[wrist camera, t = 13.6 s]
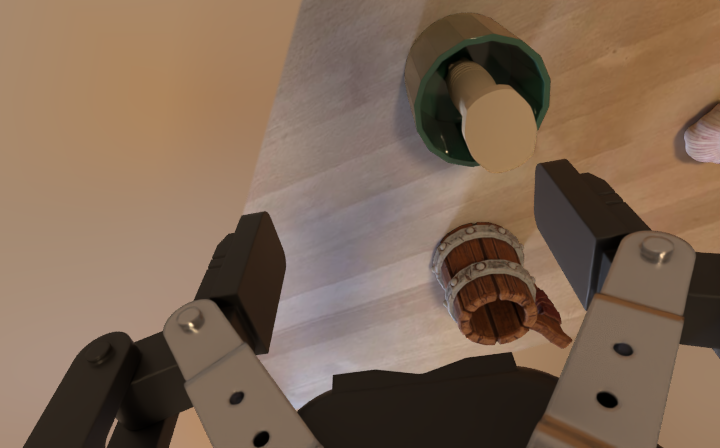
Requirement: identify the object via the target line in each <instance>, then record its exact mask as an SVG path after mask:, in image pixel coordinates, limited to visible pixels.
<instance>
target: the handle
mask: <svg viewBox="0 0 720 448" xmlns="http://www.w3.org/2000/svg"><path fill="white" fill-rule="evenodd" d="M445 82H446V85H447V89H448V92H449V95H450V98H451V100H452V102H453V104H454V106H455V107H456V108H457V110H458V111H459V113H460V114H461V115H462V117H463V118H462V133H463V136H464V139H465V142H466V144H467V147H468V149H469V151H470V153H471V155H472V157H473V158H474V159H475V160H476V162H477V163H479V164H480V165H481V166H482V167H483V168H485V169H486V170H487V171H489V172H492V173H501V172H506V171H509V170H512V169H515V168H517V167H519V166H520V165H522V164H523V163H525V162H526V161H527V160H528V159H529V158H530V157H531V156H532V155H533V151H534V147H535V143H536V139H537V125H536V122H535V118H534V114H533V111H532V109H531V107H530V105H529V104H528V103H527V102H526V101H525V99H524V98H522V97H521V96H520V95H519V94H518V93H517V92H516V91H515V90H514V89H513V88H512V87H511V86H509V85H503V84H498V85H496V83H495V81H494V80H493V78H492V77H491V75H490V74H489V73H488V72H487V71H486V70H485V69H484V68H483V67H481V66H480V65H479V64H477V63H475V62H473V61H469V60H468V59H467V58H466V57H461V58H460V59H459V60H458V61H456V62H451V63H450V64H449V65H448V74H447V77H446V78H445Z"/></svg>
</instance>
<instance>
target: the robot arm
mask: <svg viewBox="0 0 720 448" xmlns="http://www.w3.org/2000/svg"><path fill="white" fill-rule="evenodd" d="M534 215H535V221H536V224H537V227H538V229H539V231H540V233H541V235H542V236H543V238H544V240H545V241H546V243H547V245H548V247H549V248H550V250H551V252H552V254H553V255H554V257H555V259H556V260H557V262H558V264H559V266H560V267H561V269H562V271H563V272H564V274H565V276H566V278H567V279H568V281H569V283H570V285H571V286H572V288H573V290H574V291H575V293H576V295H577V297H578V298H579V300H580V302H581V304H582V305H583V307H584V309H585V310H586V311H587V313H586V315H585V318H584V320H583V322H582V325H581V327H580V330H579V332H578V334H577V337H576V340H575V342H574V344H573V346H572V349H571V351H570V354H569V356H568V358H567V361H566V363H565V366H564V368H563V370H562V373H561V375H560V378H558V377H556V376H553V375H551V374H549V373H546V372H543V371H540V370H536V369H532V368H527V367H520V366H516V363H515V361H514V357H513V355H512V352H508V353H500V354H492V355H485V356H477V357H469V358H464V359H462V360H459V361H456V362H454V363H451V364H448V365H446V366H443V367H440V368H438V369H435V370H432V371H429V372H427V373H423V374H413V373H403V372H394V371H384V370H368V371H361V372H353V373H345V374H337V375H333V384H332V390H329V391H327V392H325V393H323V394H321V395H319V396H317V397H315V398H314V399H312V400H311V401H309V402H308V403H307V404H305V405H304V406H303V407H302V408H300V409H299V410H298V411H297V412H296V410H295V409H294V407H293V406H292V405H291V403H290V402H289V400H288V399H287V398H286V396H285V395H284V394H283V392H282V391H281V389H280V388H279V387H278V385H277V384H276V382H275V381H274V380H273V378H272V377H271V376H270V374H269V373H268V371H267V370H266V369H265V367H264V366H263V365H262V363H261V362H260V360H259V359H258V358H257V356H256V355H260V354H268V352H269V347H270V342H271V337H272V333H273V328H274V323H275V318H276V313H277V308H278V304H279V299H280V294H281V289H282V284H283V280H284V275H285V270H286V259H285V254H284V250H283V247H282V245H281V242H280V240H279V237H278V235H277V232H276V230H275V227H274V225H273V222H272V220H271V217H270V215H269V214H268V213H267V212H266V211H264V212H259V213H253V214H248V215H243V216H241V218H240V220H239V223H238V225H237V228H236V231H235V233H231V234H228V235H227V236H226V237H225V238H224V239H223V241H221V242H220V243H219V244H218V245H217V248H216V250H215V252H214V255H213V257H212V258H213V260H211V262H210V264H209V266H208V270H207V271H206V274H205V276H204V278H203V280H202V283H201V285H200V287H199V289H198V292H197V294H196V296H195V299H194V301H192V302H190V303H187V304H185V305H184V306H182V307H180V308H179V309H178V310H176V311H175V312H174V313H173V314H172V315H171V316H170V317H169V318H168V320H167V321H166V323H165V325H164V329H163V331H162V332H159V333H157V334H154V335H152V336H150V337H147V338H144V339H142V340H139V341H137V342H133V341H132V339H131V338H130V337H129V336H128V335H127V334H126V333H124V332H112V333H108V334H105V335H103V336H101V337H99V338H97V339H95V340H93V341H92V342H91V343H89V344H88V345H87V346H86V347H84V348H83V349H82V350H81V351H80V353H79V354H78V355H77V356H76V358H75V359H74V361H73V362H72V364H71V366H70V368H69V369H68V371H67V373H66V374H65V376H64V378H63V380H62V382H61V383H60V385H59V386H58V388H57V390H56V392H55V393H54V395H53V397H52V398H51V400H50V402H49V404H48V405H47V407H46V409H45V410H44V412H43V414H42V416H41V417H40V419H39V421H38V422H37V424H36V426H35V427H34V429H33V431H32V433H31V435H30V436H29V438H28V440H27V441H26V443H25V445H24V446H23V448H105V443H106V438H107V435H108V433H109V430H110V428H111V426H112V424H113V422H114V419H115V418H116V419H117V420H118V422H117V425H116V427H115V429H114V432H113V434H112V437H111V439H110V441H109V444H108V446H107V448H169V445H170V442H171V438H172V435H173V432H174V428H175V425H176V422H177V418H178V415H179V413H180V412H182V411H185V410H187V409H189V408H192V407H194V408H195V410H196V413H197V415H198V417H199V419H200V421H201V423H202V425H203V427H204V429H205V431H206V434H207V436H208V438H209V440H210V442H211V444H212V446H213V448H663V447H661V446H660V445H659V444H657V442H658V438H659V433H660V429H661V424H662V419H663V415H664V410H665V406H666V401H667V396H668V392H669V388H670V383H671V379H672V374H673V369H674V365H675V360H676V355H677V351H678V347H679V344H682V345H691V346H699V347H707V348H712V349H713V350H714V351H715V353H716V354H717V356H718V357H719V358H720V254H715V253H701V252H695V251H694V249H693V248H692V246H691V245H690V244H689V243H687V242H686V241H685V240H683V239H681V238H679V237H677V236H675V235H672V234H669V233H665V232H660V231H652V230H651V229H650V228H649V227H648V226H647V225H646V224H645V223H644V222H643V221H642V219H641V218H640V217H639V216H638V215H637V214H636V213H635V212H634V211H633V210H632V209H631V208H630V207H629V206H628V205H627V204H626V202H623V199H622V198H621V197H620V196H619V195H618V194H617V193H615V191H614V190H613V189H612V188H611V187H610V185H609V184H608V183H607V182H606V181H605V180H603V179H601V178H599V177H597V176H594V175H592V174H590V173H582V174H579V173H578V171H577V170H576V169H575V168H574V167H573V166H572V164H571V163H570V162H569V161H568V160H567V159H562V160H556V161H550V162H545V163H539V164H537V166H536V170H535V195H534Z"/></svg>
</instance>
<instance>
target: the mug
mask: <svg viewBox="0 0 720 448" xmlns="http://www.w3.org/2000/svg"><path fill="white" fill-rule="evenodd" d="M523 249H524V246H523V244H519V242H518V239H517V238H516V237H515V236H514V235H513V234H511V233H510V232H509V231H508V230H506V229H504V228H503V227H501V226H498V225H495V224H492V223H489V222H477V223H476V225H475V226H474V225H473V224H472V223H470V224H467V225H463V226H460V227H458V228H457V229H455V230H453V231H452V232H450V233H448V234H447V235H446V236H445V238H444V239H443V240H442V241H441V245H439V246H438V248H437V251H436V254H435V257H434V259H433V264H434V266H433V267H432V271H433V272H434V273H435V275H436V278H437V280H438V281H439V283H440V285H441V286H442V288H443V289H444V290H445V301H444V303H443V304H444V306H445V307H447V309H448V312H449V314H450V315H451V317H452V318H453V320H454V321H455V322H456V323H457V324H458V327H459V329H460V331H461V332H462V334H463V335H465V336H466V338H467V339H469V340H471V341H472V342H475V343H479V344H483V345H495V343H496V342H497V341H498V342H499V344H504V343H509V342H512V341H514V340H516V339H518V338H520V337H522V336H523V335H524V334H526V333H527V332H528V331H529V329H532V330H534V331H536V332H539V333H541V334H542V335H543V336H544V337H545V338H546V339H548V340H549V341H550V342H551V343H553V344H555V345H556V346H558V347H560V348H562V349H564V348H566V347H567V346H568V345H569V344H570V343H571V342H572V339H571V338H570V337H569V336H568V335H566V334H565V333H564V332H563V330H562V328H561V326H560V324H561V318H560V314H559V312H557V310H556V308H555V307H554V304H553V303H552V302H551V301H550V300H549V299H548V296H547V295H546V294H545V293H544V291H543V290H540V289H539V288H537V286H536V284H535V281H536V280H535V278H534V277H532V276H530V274H529V272H528V271H527V270H526V269H524V268H523V265H524V254H523V251H522V250H523Z"/></svg>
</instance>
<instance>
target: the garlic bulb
mask: <svg viewBox="0 0 720 448" xmlns="http://www.w3.org/2000/svg"><path fill="white" fill-rule="evenodd" d="M684 139H685V142H686V151H687V153H688V154H689V155H690V156H691V157H692V158H693V159H695V160H697V161H701V162H713V163H717V164H720V103H719V104H717V105H716V106H715V107H714V108H713V109H712V111H710V112H709V113H708V114H706V115H704V116H703V117H702V118H701V119H700V120H699V121H698V122H697V123H695V124H693V125H692V126H690V127H689V128H688V129H687V130H686V132H685V135H684Z"/></svg>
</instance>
